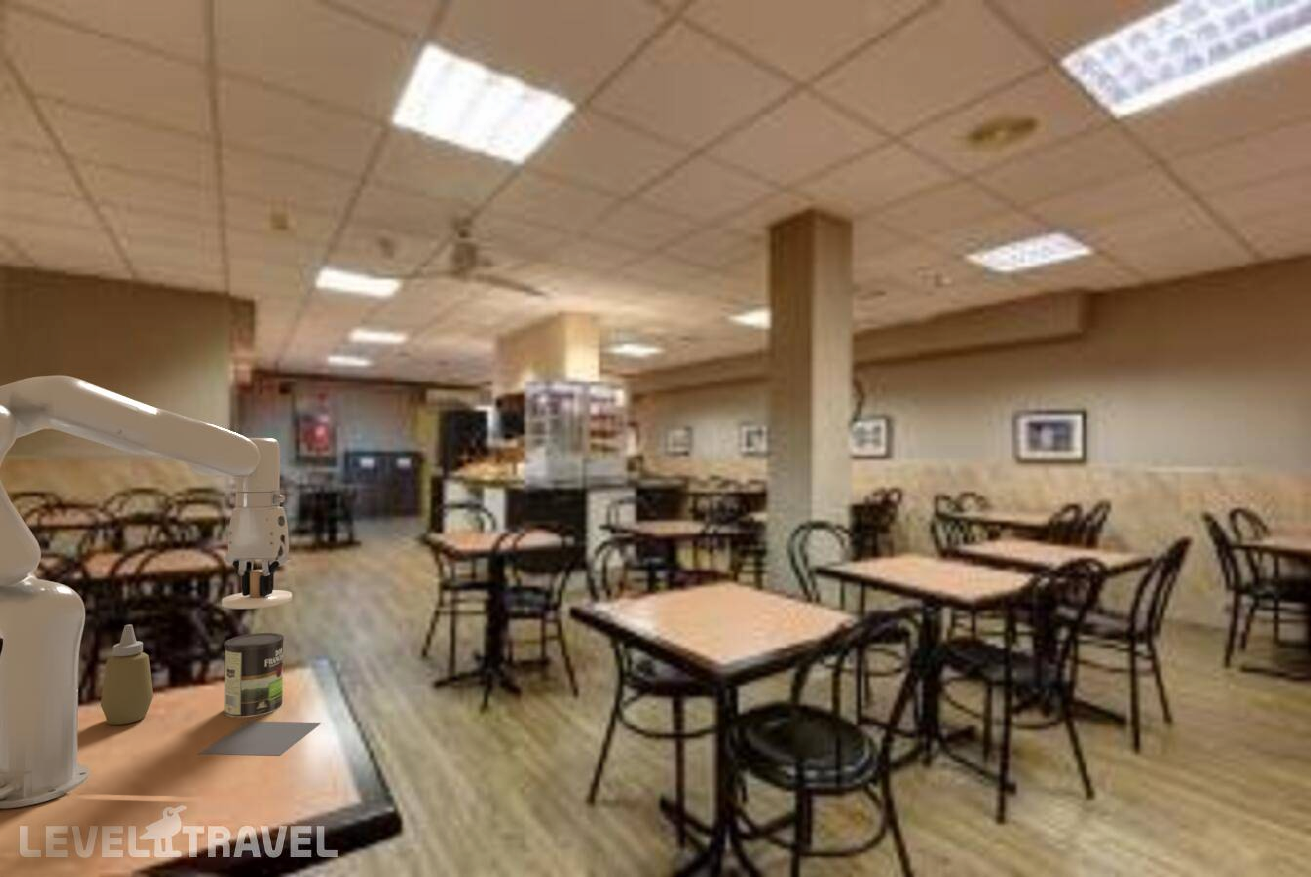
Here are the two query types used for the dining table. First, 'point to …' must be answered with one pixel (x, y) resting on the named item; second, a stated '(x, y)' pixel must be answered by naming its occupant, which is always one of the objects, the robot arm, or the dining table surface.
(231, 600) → the lid
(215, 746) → the mat
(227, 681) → the coffee can
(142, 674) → the squeeze bottle
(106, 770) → the dining table surface
